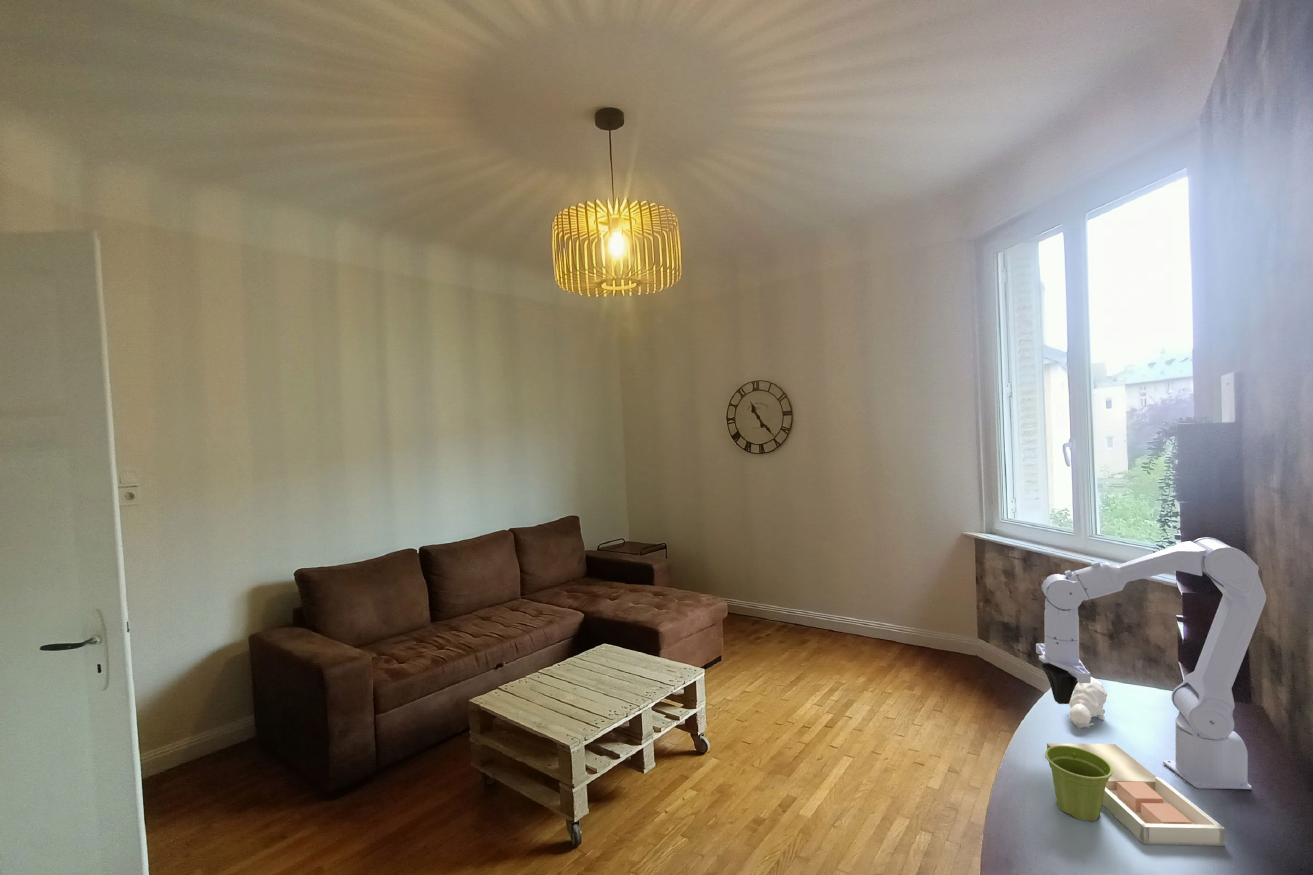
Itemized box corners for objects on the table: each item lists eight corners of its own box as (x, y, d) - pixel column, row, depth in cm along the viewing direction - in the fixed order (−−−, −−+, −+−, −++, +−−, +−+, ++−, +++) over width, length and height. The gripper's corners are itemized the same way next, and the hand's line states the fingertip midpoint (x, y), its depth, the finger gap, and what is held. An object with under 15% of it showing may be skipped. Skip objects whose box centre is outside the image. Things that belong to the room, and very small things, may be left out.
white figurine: (1108, 677, 130) (1095, 701, 123) (1109, 713, 131) (1096, 739, 123) (1074, 669, 135) (1059, 691, 127) (1075, 704, 136) (1060, 728, 128)
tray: (1159, 792, 105) (1159, 777, 105) (1224, 845, 92) (1224, 828, 92) (1089, 791, 106) (1089, 776, 106) (1143, 843, 93) (1143, 826, 93)
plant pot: (1125, 831, 96) (1125, 779, 95) (1060, 825, 97) (1060, 774, 97) (1094, 794, 105) (1094, 747, 104) (1036, 789, 107) (1035, 743, 106)
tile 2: (1169, 817, 98) (1169, 803, 98) (1191, 837, 93) (1191, 821, 93) (1140, 817, 98) (1140, 802, 98) (1161, 836, 94) (1161, 821, 94)
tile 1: (1143, 795, 104) (1143, 781, 104) (1163, 812, 99) (1163, 798, 99) (1116, 795, 104) (1116, 781, 104) (1135, 812, 99) (1135, 798, 99)
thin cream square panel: (1115, 753, 117) (1115, 743, 117) (1162, 792, 105) (1162, 781, 105) (1047, 752, 118) (1046, 743, 118) (1086, 791, 106) (1086, 780, 106)
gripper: (1020, 623, 125) (1021, 685, 126) (1063, 650, 111) (1063, 720, 111) (1055, 622, 125) (1055, 685, 125) (1102, 650, 110) (1102, 721, 111)
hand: (1061, 702), depth 118 cm, fingers closed
